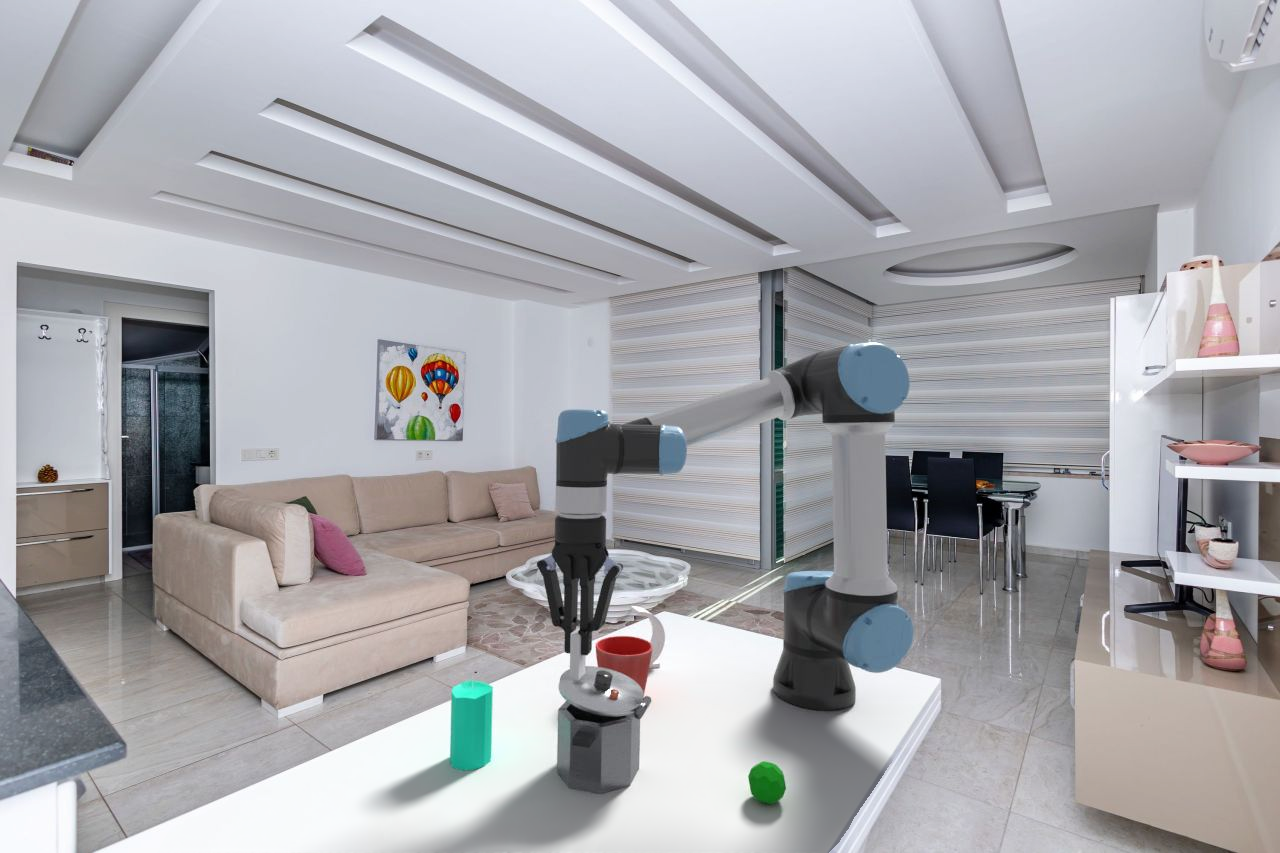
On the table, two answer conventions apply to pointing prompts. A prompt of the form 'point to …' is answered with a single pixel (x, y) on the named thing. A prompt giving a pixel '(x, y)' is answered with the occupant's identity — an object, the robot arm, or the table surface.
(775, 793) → the polyhedron
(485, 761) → the candle
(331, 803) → the table surface
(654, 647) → the headphone stand
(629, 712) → the lid
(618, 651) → the flower pot
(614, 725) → the pot
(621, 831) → the table surface
